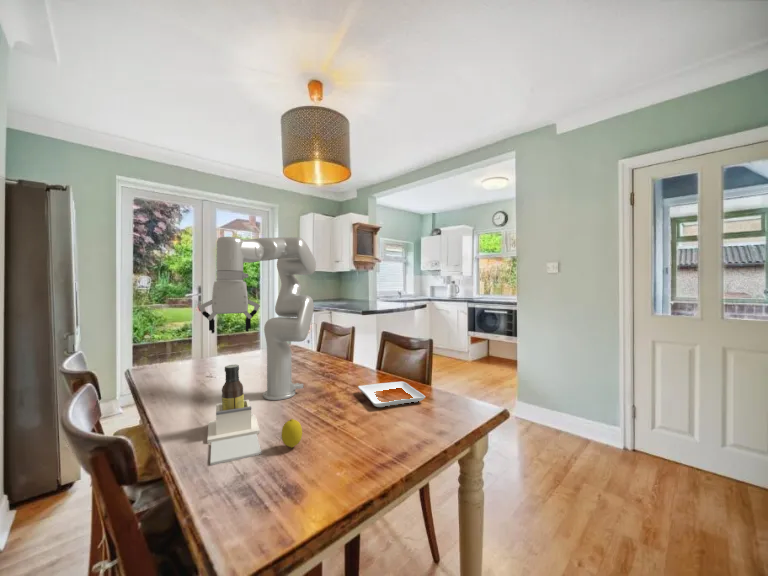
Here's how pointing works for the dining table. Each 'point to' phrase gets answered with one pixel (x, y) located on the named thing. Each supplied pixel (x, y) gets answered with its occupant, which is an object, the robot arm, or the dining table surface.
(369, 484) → the dining table surface
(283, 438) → the lemon
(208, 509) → the dining table surface
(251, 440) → the mat
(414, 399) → the salad plate
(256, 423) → the caddy
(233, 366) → the sauce bottle
